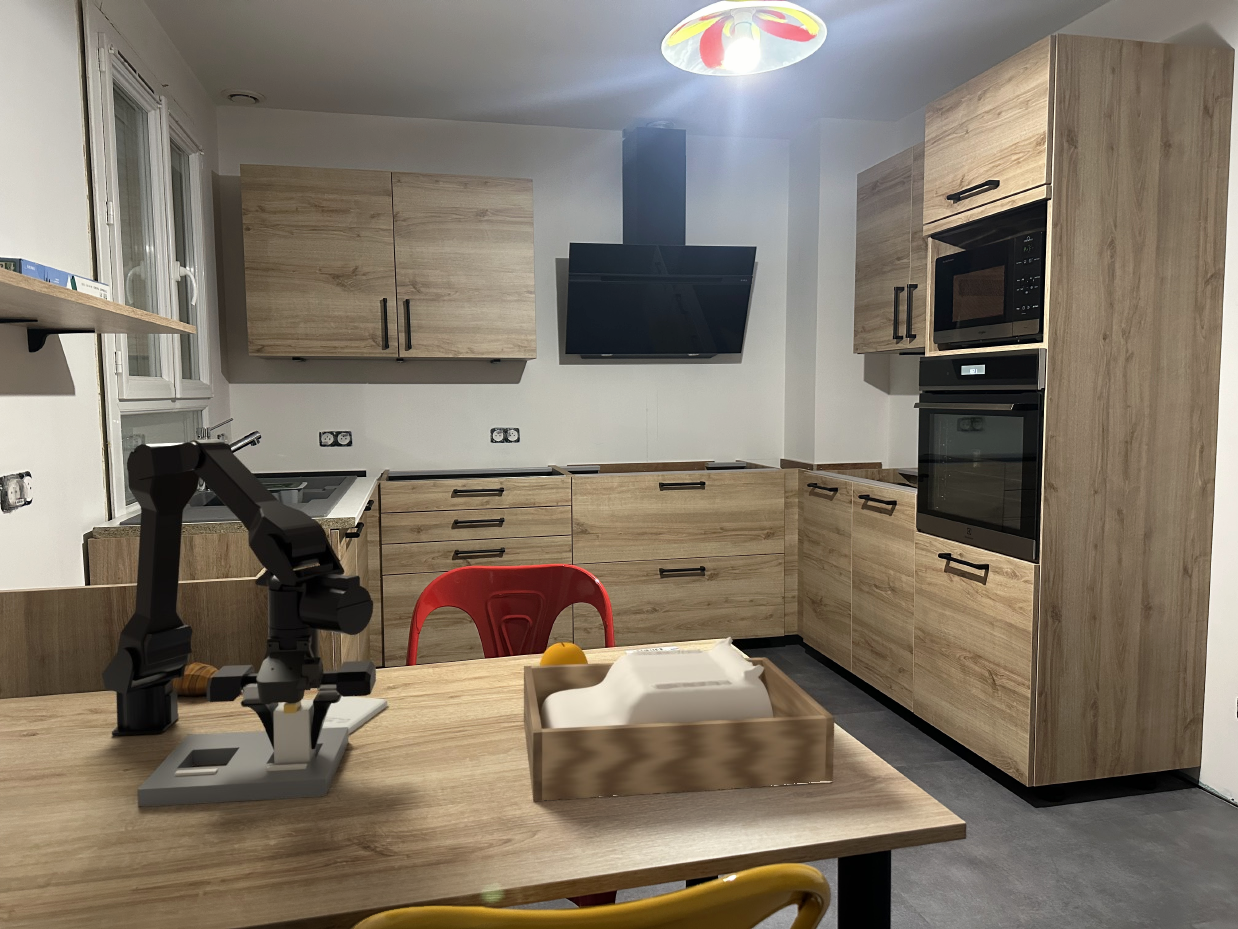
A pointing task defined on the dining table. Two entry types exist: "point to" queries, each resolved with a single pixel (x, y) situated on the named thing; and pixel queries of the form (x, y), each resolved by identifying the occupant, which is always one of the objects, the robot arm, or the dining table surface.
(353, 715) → the external hard drive
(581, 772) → the wooden crate
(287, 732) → the plug
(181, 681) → the croissant
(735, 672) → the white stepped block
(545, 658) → the apple
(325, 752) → the panel
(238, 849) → the dining table surface
